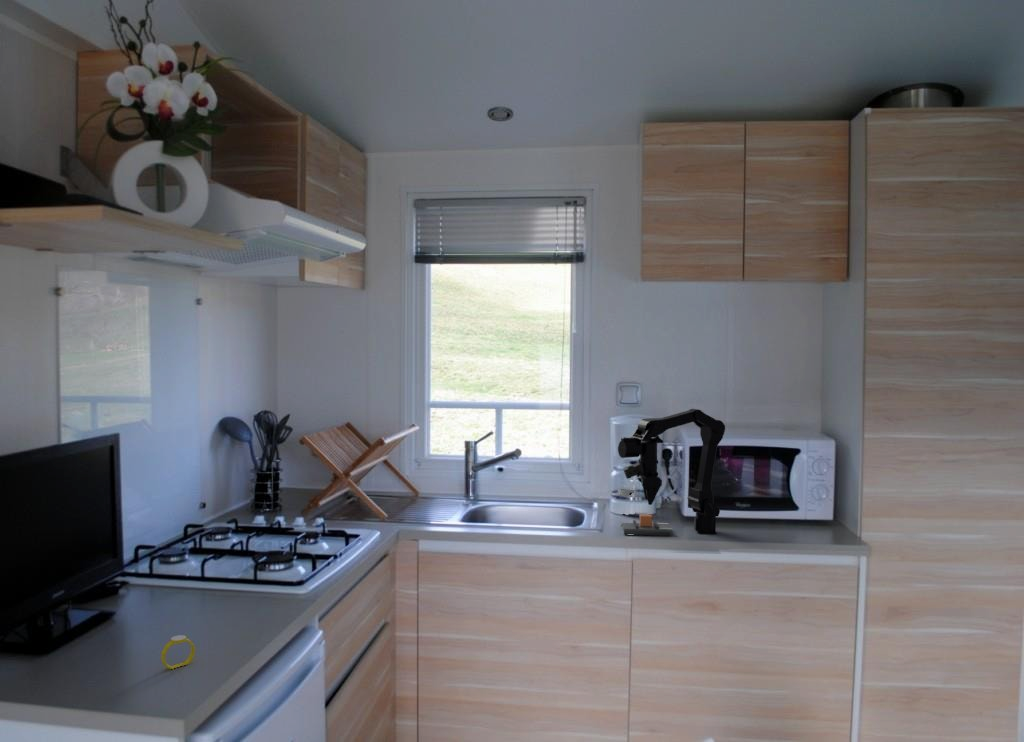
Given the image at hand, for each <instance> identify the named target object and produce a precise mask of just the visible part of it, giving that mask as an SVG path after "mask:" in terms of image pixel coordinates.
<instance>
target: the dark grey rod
mask: <svg viewBox="0 0 1024 742" xmlns="http://www.w3.org/2000/svg"><path fill="white" fill-rule="evenodd" d="M624 534H634V535H633V536H640V535H648V537H649V536H650V537H657V536H658V537H659V536H660V537H670V536H671V535H670V532H624V533H623V535H624Z"/></svg>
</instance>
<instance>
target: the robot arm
mask: <svg viewBox="0 0 1024 742" xmlns="http://www.w3.org/2000/svg"><path fill="white" fill-rule="evenodd" d="M690 423H693V424H694V425H695V426H697V428H699V431H700V432H699V433H700V434H699V435H700V438H701V441H702V447H701V454H700V459H699V466H698V472H697V478H696V484H695V485H694V487H691V486H690V487H689V489H688V496H687V499H688V504H689V506H690V507H691V508H692V511H693V513H695V517H694V518H693V521H694V522H693V529H694V530H695V532H697V534H700V535H701V534H707V535H708V534H709V535H712V534H713V535H714V534H715V535H716V534H718V531H716V527H717V526H716V525H717V524H716V522H717V521H716V520H717V519H716V518H717V517H719V515H720V512H721V510H720V509H719V508H718V507H717V506H716V505H715V504H714V499H715V497H714V493H713V490H712V489H713V488H712V481H713V480H712V479H713V476H714V475H713V474H714V469H715V462H716V455H717V449H718V446H719V445H720V443H721V441H722V440H723V438H724V435H725V432H726V425H725V423H724V422H723V420H719V419H716V418H714V417H713V416H710V415H708V414H706V412H704V411H703V410H701V409H696V408H690V409H688V410H684V411H682V412H678V413H674V414H671V415H668V416H663V417H655V418H654V417H651V418H648V417H647V418H643V419H640V420H639V422H638V424H637V427H636V429H635V430H634V432H633V433H632V435H631V436H630V437H625V436H624V437H621V438H620V441H619V443H618V446H617V452H618V456H620V458H622V459H625V458H627V459H628V458H638V457H639V458H638V462H635V463H634V464H631V465H630V464H629V465H627V466H624V467H623V468H622V470H623V472H624V475H625V478H626V479H630V478H632V477H635V476H636V477H637V480H638V481H639V482H640V484H641V487H642V490H643V494H644V499H645V500H646V501H647V503H648V506H652V505H653V503H654V501H655V499H656V497H657V494H658V492H659V490H660V488H661V487H662V485H663V480H662V478H661V477H660V476H659V472H658V464H659V460H658V444H662V443H664V441H663V440H662V438H661V437H660V435H662V434H663V433H665V432H666V431H667V430H670V429H672V428H677V427H680V426H684V425H686V424H687V425H688V424H690Z"/></svg>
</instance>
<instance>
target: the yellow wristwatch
mask: <svg viewBox="0 0 1024 742" xmlns="http://www.w3.org/2000/svg"><path fill="white" fill-rule="evenodd" d="M185 642H186V643H188V644H190V652H189V656H188V657H187V658H186V660H185V661H183V662H180V663H177V664H174V665H170V664H168V663H167V662H166V654H167V653H168V651H169V649H170V648H171V647H172V646H173V645H178V644H183V643H185ZM195 649H196V648H195V644H194V643H193V642H192V640H190V639H189V638H187V636H186V635H183V634H181V635H174V636H172V637H171V638H170V641H168V642H167V643H166V644H165V645H164V647H163V650H162V651H161V654H160V656H161V657H160V658H161V659H160V660H161V662H162V665H163V666H165V668H166V669H169V670H171V669H173V670H175V669H174V668H176V667H180V666H182V665H186V664H188V665H189V664H190V663H191V662H192V661H193V659H194V656H195V653H196V650H195ZM180 668H181V667H180ZM176 669H177V668H176Z"/></svg>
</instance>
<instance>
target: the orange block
mask: <svg viewBox="0 0 1024 742" xmlns="http://www.w3.org/2000/svg"><path fill="white" fill-rule="evenodd" d="M639 523H640V526H652V523H653V515H652V514H641V513H640V514H639Z"/></svg>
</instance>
